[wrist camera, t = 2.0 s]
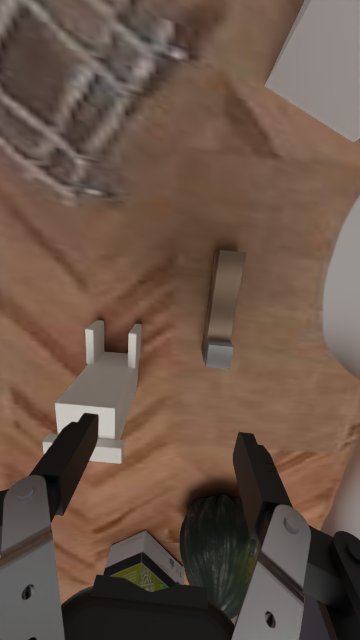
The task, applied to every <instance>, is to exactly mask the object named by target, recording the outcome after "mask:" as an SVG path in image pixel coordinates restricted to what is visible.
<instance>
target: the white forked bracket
mask: <svg viewBox="0 0 360 640" xmlns="http://www.w3.org/2000/svg"><path fill="white" fill-rule="evenodd" d="M85 332H86V359H87V364H88V365H87V367H86V368H85V369H84V370H83V371H82V372H81V374H80V375H79V376H78V377H77V378H76V379H75V380H74V382H73V383H72V384H71V385H70V386H69V387H68V389H67V390H66V391H65V392H64V393H63V394H62V396H61V397H60V398H59V399H58V400H57V401H56V403H55V408H56V419H57V430H58V435H59V433H60V432H61V430H62V429H63V428H64V427H65V426H67V425H68V424H69V423H71V422H78V421H79V419H80V418H81V416H82V415H83V414H84V413H92V414H98V416H99V424H98V440H97V444H96V447H95V449H94V451H93V454H92V456H91V458H90V460H89V461H97V462H109V463H120V464H121V462H122V459H123V456H124V441H123V440H120V437H121V434H122V431H123V428H124V425H125V422H126V419H127V417H128V414H129V411H130V408H131V405H132V402H133V399H134V396H135V393H136V390H137V384H138V361H139V358H140V355H141V338H142V324H135V325H134V326H133V328H132V329H131V331H130V332H129V341H128V354H125V353H115V352H104V321H102V320H97V321H95V322H94V323H93V324H91V325H90V326H89V327H88V328H86V329H85ZM58 435H56V434H48V435H47V436H46V438H45V439H44V440H43V451H44V454H45V453H46V451H47V450H48V449H49V447H50V446H51V445H52V443H53V442H54V440H55V439H56V438H57V436H58Z"/></svg>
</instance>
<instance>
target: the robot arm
mask: <svg viewBox="0 0 360 640" xmlns="http://www.w3.org/2000/svg"><path fill="white" fill-rule="evenodd" d="M98 424H99V416H98V414H92V413H84V414H83V415H82V416H81V418H80V419H79V421H78V422H71V423H69V424H68V425H67V426H65V427H64V428H63V429H62V430H61V432H60V433H59V435H58V436H57V438H56V439H55V440H54V442H53V443H52V445H51V446H50V447H49V449H48V450H47V451H46V453H45V454H44V456H43V457H42V458H41V460H40V461H39V463H38V464H37V465H36V467H35V468H34V470H33V471H32V472H31V474H30V475H29V476H27V477H25V478H23V479H21V480H19V481H18V482H16V483H15V484H14V485H13V486H12V487H11V488H10V489H7V490H4V491H0V555H1V558H0V640H299V635H300V628H301V622H302V615H303V607H304V594H303V592H305V593H307V594H308V595H310V596H312V597H313V598H315V599H317V602H318V605H319V608H320V610H321V614H322V617H323V619H324V622H325V625H326V628H327V631H328V634H329V637H330V639H331V640H360V540H359V539H358V538H356V537H355V536H353V535H352V534H350V533H347V532H344V531H338V532H336V533H335V535H334V537H332V536H329V535H327V534H325V533H323V532H321V531H319V530H317V529H315V528H313V527H311V526H309V525H308V524H307V522H306V520H305V519H304V517H303V516H302V515H301V514H300V513H299V512H298V511H297V510H295V509H294V508H293V507H292V504H291V502H290V500H289V497H288V495H287V493H286V490H285V488H284V486H283V483H282V481H281V479H280V476H279V474H278V473H277V469H276V467H275V466H274V462H273V460H272V458H271V455H270V453H269V452H268V451H267V450H266V449H265V447H264V446H263V445H258V444H257V442H256V439H255V437H254V435H253V434H251V433H243V432H239V433H238V436H237V440H236V444H235V448H234V452H233V465H234V469H235V474H236V478H237V483H238V487H239V491H240V496H241V500H242V504H243V509H244V513H245V518H246V522H247V526H248V531H249V535H250V539H257V540H259V543H260V547H261V549H260V552H259V555H258V558H257V561H256V564H255V567H254V570H253V573H252V576H251V579H250V582H249V585H248V588H247V590H246V593H245V596H244V599H243V602H242V605H241V608H240V611H239V614H238V617H237V620H236V622H235V625H234V624H233V623H232V621H231V620H230V619H229V617H228V616H227V615H226V614H225V612H223V611H222V610H221V609H220V608H219V607H218V606H217V605H216V604H214V603H213V602H212V601H210V600H208V599H207V587H199V586H190V585H182V584H179V585H175V586H172V587H168V588H165V589H161V590H158V591H154V592H149V591H147V590H145V589H143V588H141V587H140V586H138V585H136V584H134V583H132V582H130V581H129V580H127V579H125V578H121V577H112V576H103V575H96V579H95V582H94V586H91V587H88V588H86V589H83V590H81V591H79V592H78V593H76V594H75V595H73V596H72V597H70V598H69V599H68V600H67V601H65V602H64V603H63V604H62V605H61V602H60V594H59V585H58V577H57V569H56V560H55V552H54V543H53V535H52V530H51V522H52V520H53V518H54V516H55V515H62V516H63V515H64V512H65V510H66V508H67V506H68V504H69V502H70V500H71V498H72V496H73V494H74V491H75V489H76V487H77V485H78V483H79V481H80V479H81V477H82V475H83V472H84V470H85V468H86V466H87V464H88V462H89V460H90V458H91V456H92V454H93V451H94V449H95V447H96V444H97V440H98Z"/></svg>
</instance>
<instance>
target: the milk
mask: <svg viewBox="0 0 360 640" xmlns="http://www.w3.org/2000/svg"><path fill="white" fill-rule="evenodd" d="M265 87H267V88H268V89H270V90H272V91H273V92H275V93H276V94H278V95H279V96H281V97H283V98H284V99H286V100H287V101H289V102H290V103H292V104H294V105H295V106H297V107H298V108H300V109H301V110H303V111H305V112H306V113H308V114H309V115H311V116H313V117H314V118H316V119H317V120H319V121H320V122H322V123H324V124H325V125H327V126H328V127H330V128H331V129H333V130H335V131H336V132H338V133H339V134H341V135H342V136H344V137H346V138H347V139H349V140H350V141H352V142H353V143H354V142H355V141H357V140H358V139H359V138H360V0H304V3H303V5H302V7H301V9H300V11H299V13H298V15H297V18H296V20H295V22H294V24H293V26H292V28H291V30H290V32H289V35H288V37H287V39H286V41H285V43H284V45H283V47H282V50H281V52H280V54H279V56H278V58H277V60H276V62H275V65H274V67H273V69H272V71H271V73H270V75H269V77H268V80H267V82H266V84H265Z"/></svg>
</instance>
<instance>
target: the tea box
mask: <svg viewBox="0 0 360 640" xmlns="http://www.w3.org/2000/svg"><path fill="white" fill-rule="evenodd" d="M103 576H112V577H121V578H125V579H127V580H129V581H130V582H132V583H134V584H136V585H138V586H140V587H141V588H143V589H145V590H147V591H149V592H154V591H158V590H161V589H165V588H168V587H172V586H175V585H179V584H182V585H184V569H183V567H182V566H181V565H180V564H179V563H178V562H177V561H176V560H175V559H174V558H173V557H172V556H171V555H170V554H169V553H168V552H167V551H166V550H165V549H164V548H163V547H162V546H161V545H160V544H159V543H158V542H157V541H156V540H155V539H154V538H153V537H152V536H151V535H150V534H149V533H148V532H147V531H146V530H145V531H143V532H140V533H138V534H136V535H134V536H131V537H129V538H127V539H125V540H122V541H120V542H118V543H116V544H114V545H112V546H111V548H110V551H109V555H108V559H107V563H106V567H105V571H104V575H103Z"/></svg>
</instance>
